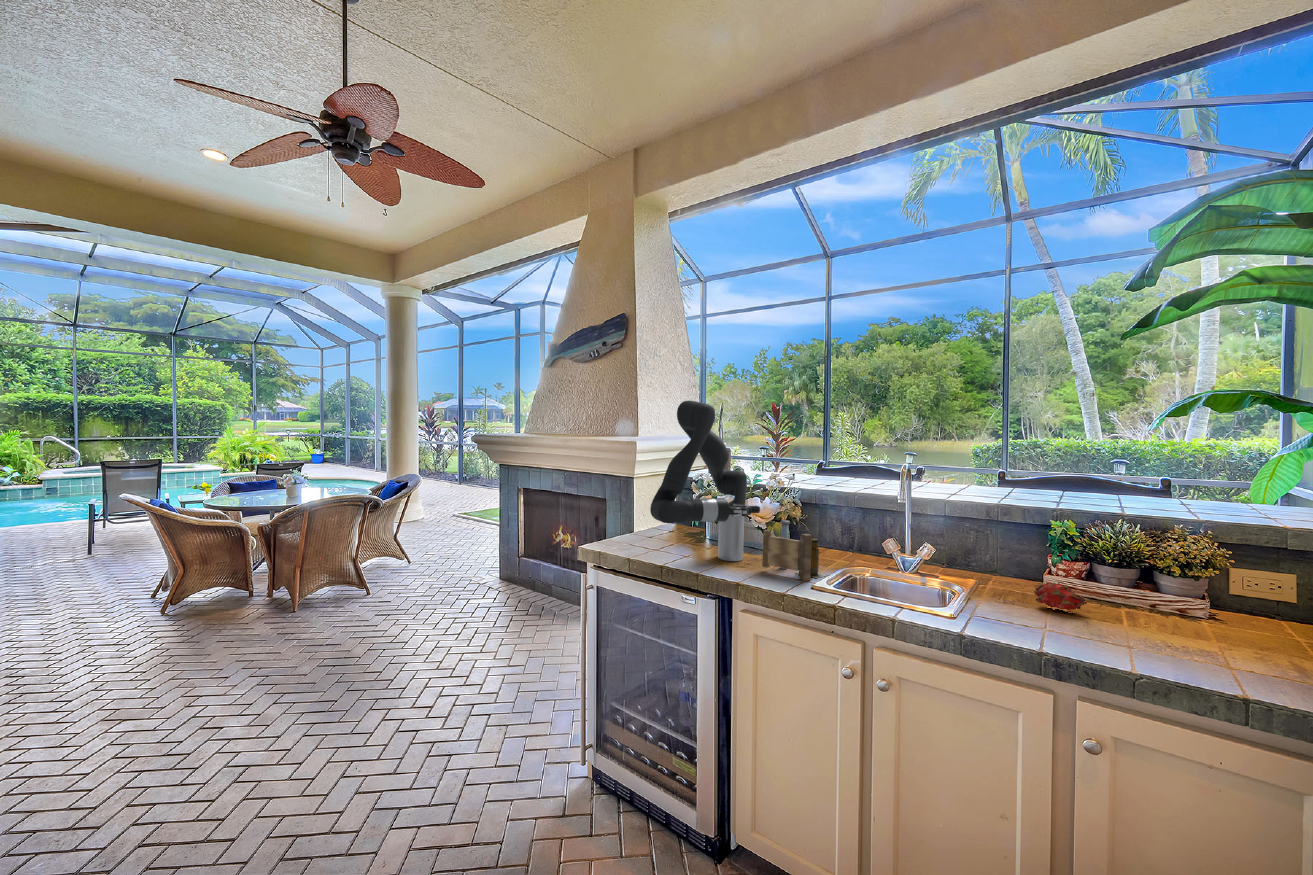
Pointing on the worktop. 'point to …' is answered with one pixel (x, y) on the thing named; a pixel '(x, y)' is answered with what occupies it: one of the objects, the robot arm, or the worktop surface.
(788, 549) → the gate
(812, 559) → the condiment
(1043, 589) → the dragon fruit
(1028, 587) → the worktop surface
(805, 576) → the hinge post
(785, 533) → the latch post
